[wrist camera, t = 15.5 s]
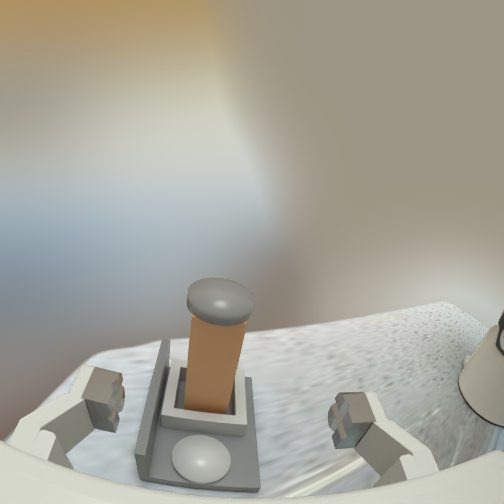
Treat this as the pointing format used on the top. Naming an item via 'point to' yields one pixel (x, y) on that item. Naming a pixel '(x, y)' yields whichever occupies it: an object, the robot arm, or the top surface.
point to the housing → (196, 434)
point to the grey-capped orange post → (215, 341)
